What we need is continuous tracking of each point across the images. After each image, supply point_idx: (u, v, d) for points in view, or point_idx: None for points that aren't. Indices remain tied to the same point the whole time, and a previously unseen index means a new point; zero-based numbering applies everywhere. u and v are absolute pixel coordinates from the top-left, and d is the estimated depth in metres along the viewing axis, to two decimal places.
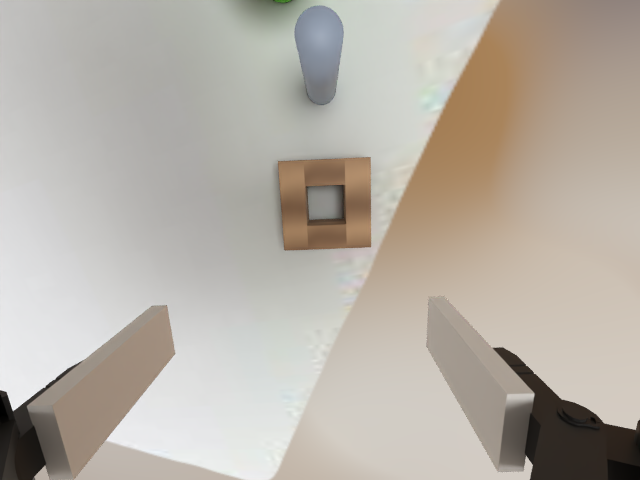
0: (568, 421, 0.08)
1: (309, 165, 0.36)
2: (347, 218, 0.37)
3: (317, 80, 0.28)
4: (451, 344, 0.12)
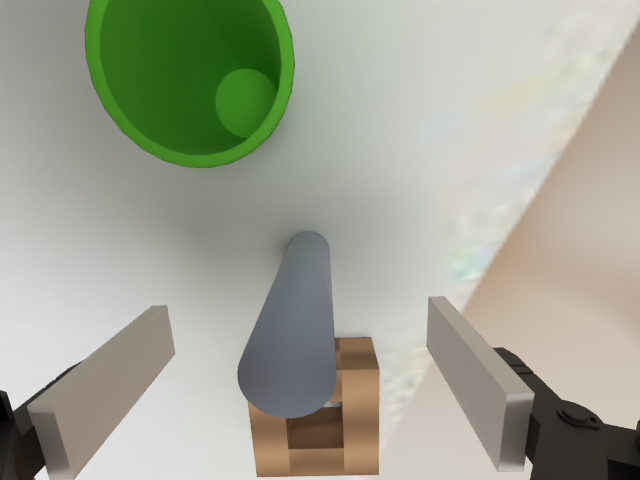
0: (568, 421, 0.08)
1: None
2: (345, 441, 0.26)
3: None
4: (451, 344, 0.12)
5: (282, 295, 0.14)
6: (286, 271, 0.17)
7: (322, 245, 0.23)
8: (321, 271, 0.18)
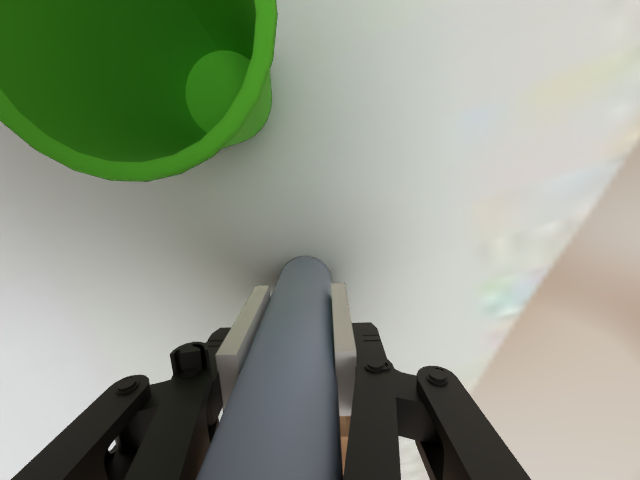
0: (371, 371, 0.10)
1: None
2: None
3: None
4: None
5: (257, 388, 0.08)
6: (270, 329, 0.12)
7: (322, 276, 0.18)
8: (320, 326, 0.12)
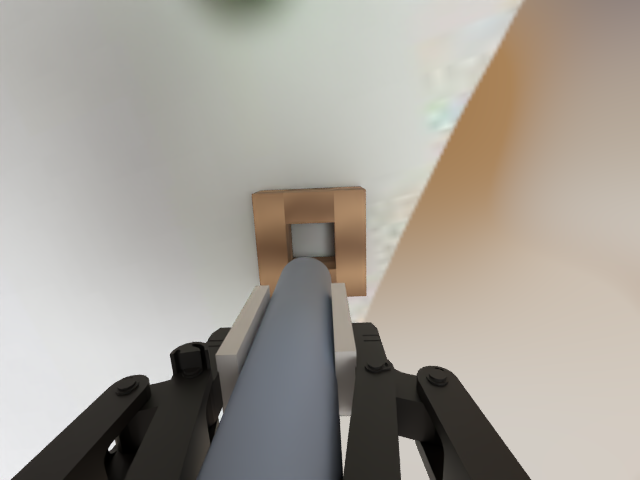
0: (372, 371, 0.10)
1: (290, 199, 0.29)
2: (337, 262, 0.30)
3: None
4: None
5: (257, 390, 0.08)
6: (270, 330, 0.12)
7: (322, 277, 0.18)
8: (320, 327, 0.12)
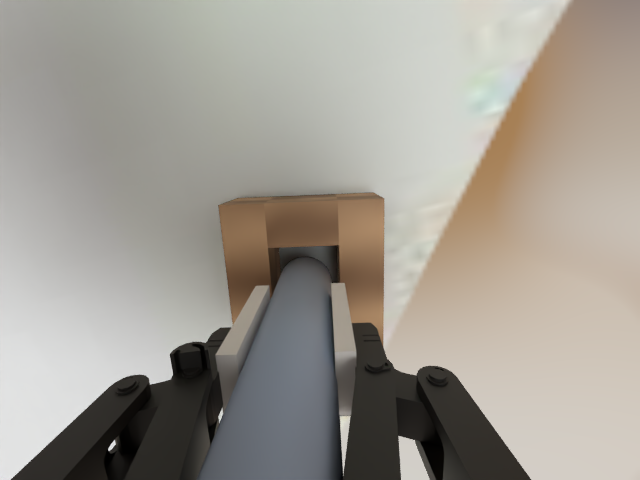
0: (371, 371, 0.10)
1: (274, 212, 0.20)
2: None
3: None
4: None
5: (257, 390, 0.08)
6: (270, 330, 0.12)
7: (322, 277, 0.18)
8: (320, 328, 0.12)
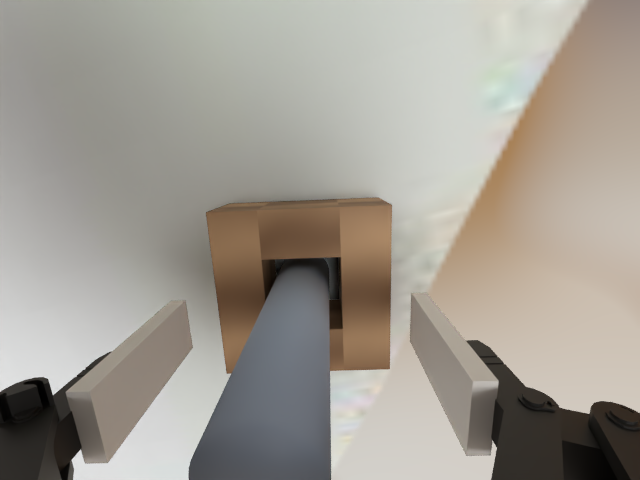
0: (528, 406, 0.08)
1: (268, 220, 0.18)
2: (345, 318, 0.19)
3: None
4: (429, 337, 0.13)
5: (262, 347, 0.10)
6: (272, 306, 0.14)
7: (320, 266, 0.20)
8: (316, 305, 0.14)
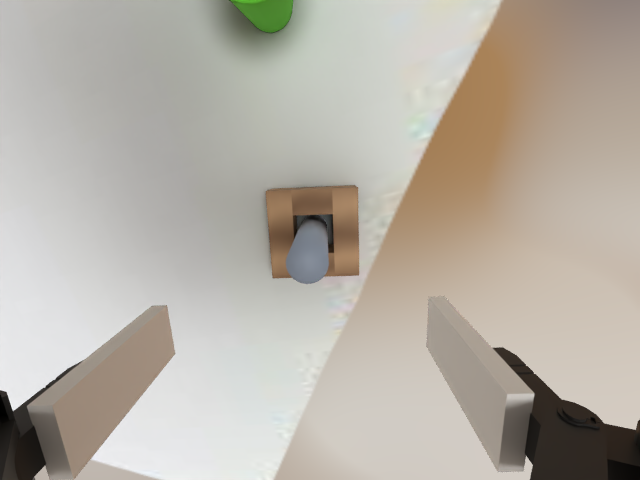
0: (568, 421, 0.08)
1: (296, 195, 0.36)
2: (335, 247, 0.37)
3: None
4: (451, 344, 0.12)
5: (303, 235, 0.28)
6: (303, 229, 0.32)
7: (322, 221, 0.38)
8: (321, 230, 0.32)
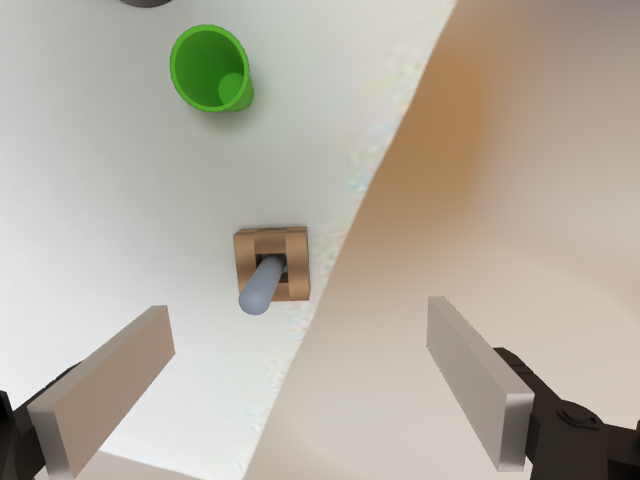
0: (568, 421, 0.08)
1: (257, 238, 0.45)
2: (289, 278, 0.47)
3: None
4: (450, 344, 0.12)
5: (254, 277, 0.38)
6: (258, 269, 0.41)
7: (280, 257, 0.48)
8: (273, 269, 0.42)
